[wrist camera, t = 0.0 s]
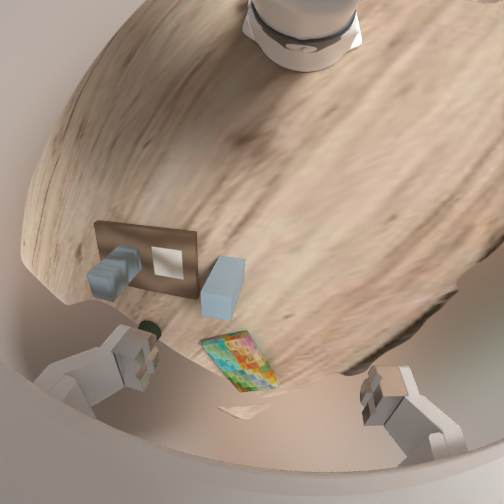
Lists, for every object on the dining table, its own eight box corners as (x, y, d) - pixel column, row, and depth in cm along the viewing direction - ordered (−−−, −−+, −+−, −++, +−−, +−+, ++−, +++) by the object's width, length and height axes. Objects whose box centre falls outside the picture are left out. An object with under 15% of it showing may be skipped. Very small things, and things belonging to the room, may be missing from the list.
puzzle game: (246, 339, 57) (279, 390, 64) (249, 325, 61) (281, 376, 68) (201, 347, 61) (238, 395, 68) (206, 334, 65) (242, 381, 72)
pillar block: (219, 255, 53) (200, 292, 43) (245, 259, 53) (231, 297, 42) (219, 277, 56) (201, 315, 45) (243, 281, 55) (230, 321, 45)
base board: (97, 220, 54) (58, 248, 42) (196, 231, 52) (167, 268, 40) (108, 277, 61) (77, 310, 49) (199, 295, 59) (177, 338, 47)
